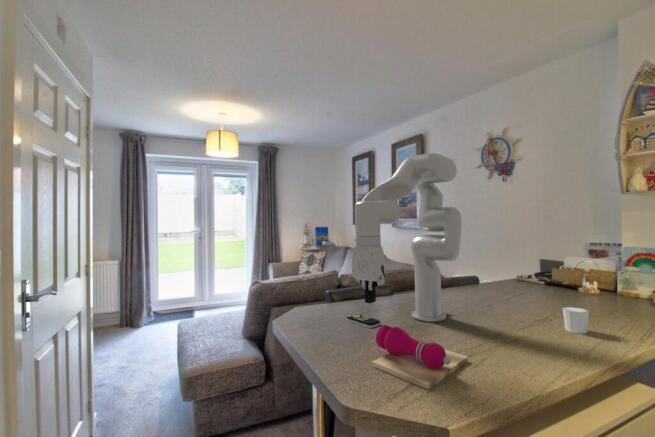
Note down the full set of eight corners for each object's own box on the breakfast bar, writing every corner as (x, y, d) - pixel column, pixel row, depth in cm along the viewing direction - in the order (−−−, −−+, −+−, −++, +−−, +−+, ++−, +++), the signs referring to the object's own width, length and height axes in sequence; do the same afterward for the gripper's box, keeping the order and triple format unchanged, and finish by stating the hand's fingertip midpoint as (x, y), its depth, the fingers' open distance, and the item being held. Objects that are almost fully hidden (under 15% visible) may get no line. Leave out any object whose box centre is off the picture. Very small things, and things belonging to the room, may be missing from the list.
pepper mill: (393, 329, 93) (460, 353, 78) (383, 352, 90) (450, 382, 75) (381, 318, 89) (449, 341, 74) (371, 342, 86) (439, 371, 71)
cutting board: (414, 344, 96) (414, 340, 96) (467, 361, 84) (467, 356, 84) (372, 366, 82) (372, 361, 82) (428, 389, 70) (428, 384, 70)
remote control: (370, 329, 110) (370, 323, 111) (345, 321, 120) (345, 315, 120) (382, 325, 114) (381, 320, 115) (356, 317, 124) (356, 312, 124)
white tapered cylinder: (583, 328, 106) (583, 307, 106) (593, 335, 100) (592, 313, 100) (559, 326, 109) (559, 305, 109) (567, 333, 102) (567, 311, 102)
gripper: (342, 242, 99) (344, 300, 99) (380, 244, 88) (382, 309, 88) (358, 240, 104) (360, 295, 104) (396, 241, 93) (398, 304, 93)
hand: (370, 302), depth 96 cm, fingers closed
